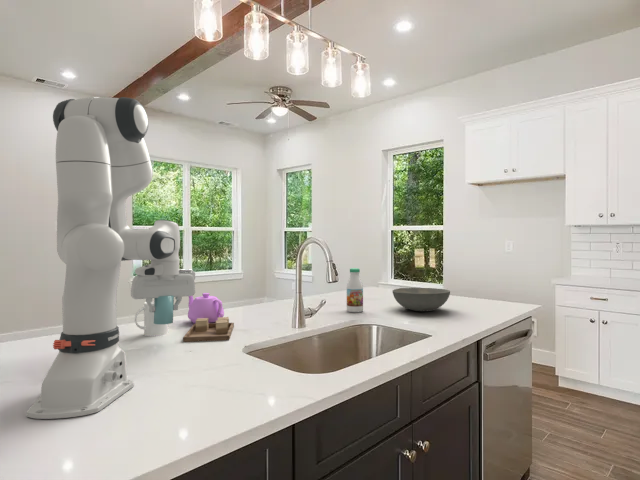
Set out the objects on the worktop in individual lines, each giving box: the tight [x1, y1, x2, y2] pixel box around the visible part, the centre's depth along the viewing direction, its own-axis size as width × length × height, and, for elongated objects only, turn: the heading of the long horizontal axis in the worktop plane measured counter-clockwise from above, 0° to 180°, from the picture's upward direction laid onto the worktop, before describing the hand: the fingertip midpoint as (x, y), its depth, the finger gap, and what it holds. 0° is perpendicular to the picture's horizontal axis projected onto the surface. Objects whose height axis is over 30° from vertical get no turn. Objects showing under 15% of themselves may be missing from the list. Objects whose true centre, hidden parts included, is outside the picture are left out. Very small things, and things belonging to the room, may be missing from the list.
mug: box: [134, 300, 169, 337], centre depth 144 cm, size 12×8×12 cm
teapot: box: [187, 292, 225, 324], centre depth 163 cm, size 20×14×12 cm
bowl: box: [392, 287, 451, 312], centre depth 188 cm, size 26×26×10 cm
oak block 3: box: [215, 320, 228, 334], centre depth 146 cm, size 4×4×4 cm
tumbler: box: [153, 296, 175, 325], centre depth 132 cm, size 6×6×9 cm
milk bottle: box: [346, 267, 364, 313], centre depth 186 cm, size 8×8×20 cm
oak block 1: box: [196, 318, 208, 332], centre depth 149 cm, size 4×4×4 cm
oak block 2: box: [218, 316, 230, 330], centre depth 151 cm, size 4×4×4 cm
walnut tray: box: [182, 322, 235, 343], centre depth 144 cm, size 20×15×2 cm
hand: (163, 311), depth 132 cm, fingers closed on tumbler, 6 cm apart
